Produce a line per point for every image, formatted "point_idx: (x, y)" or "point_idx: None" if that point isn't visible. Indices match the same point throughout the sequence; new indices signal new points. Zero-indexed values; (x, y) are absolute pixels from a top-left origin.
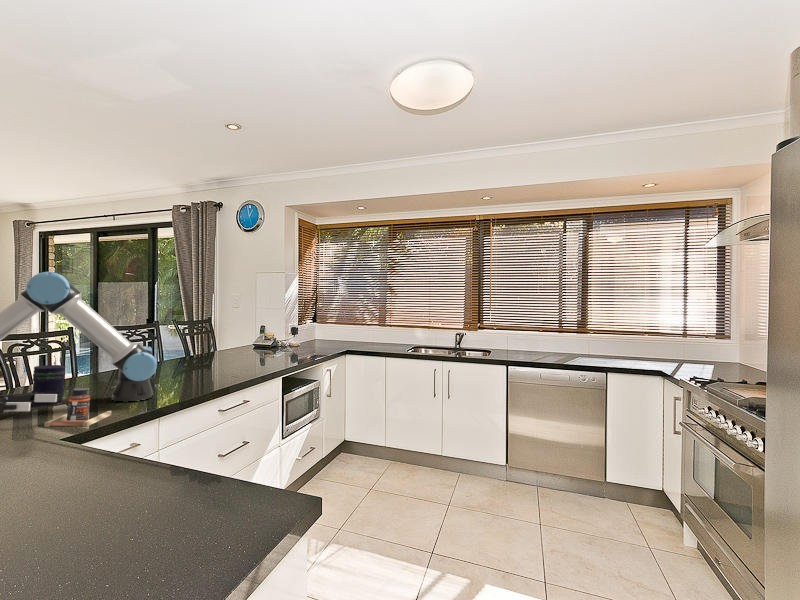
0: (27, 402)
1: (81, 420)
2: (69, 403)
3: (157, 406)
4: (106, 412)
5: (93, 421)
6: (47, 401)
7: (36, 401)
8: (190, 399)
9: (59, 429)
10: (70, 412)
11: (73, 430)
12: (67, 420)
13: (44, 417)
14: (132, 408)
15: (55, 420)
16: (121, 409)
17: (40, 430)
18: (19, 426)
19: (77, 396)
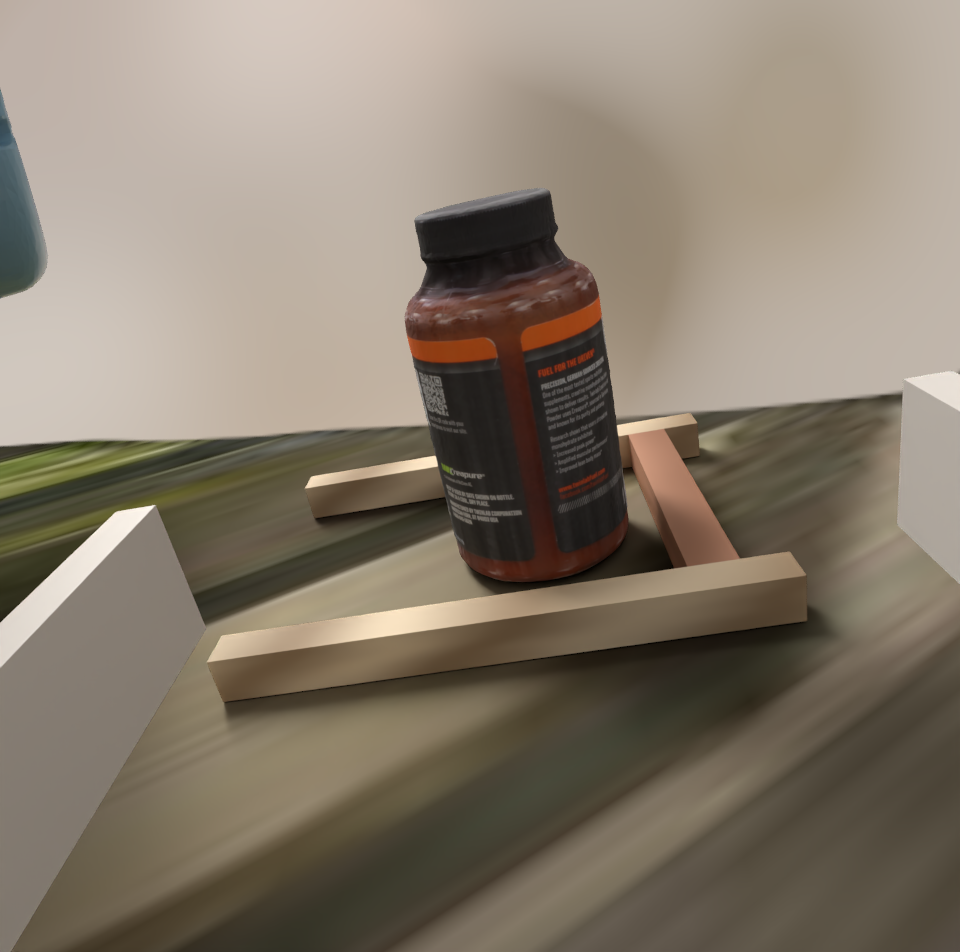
0: (939, 393)
1: (640, 450)
2: (592, 354)
3: (133, 461)
4: (361, 473)
5: None
6: (145, 708)
7: (24, 905)
8: (4, 446)
9: (828, 503)
10: (615, 437)
11: (812, 444)
12: (659, 502)
13: (275, 939)
14: None
15: (684, 558)
16: None
17: (937, 575)
18: (922, 894)
19: (568, 260)
